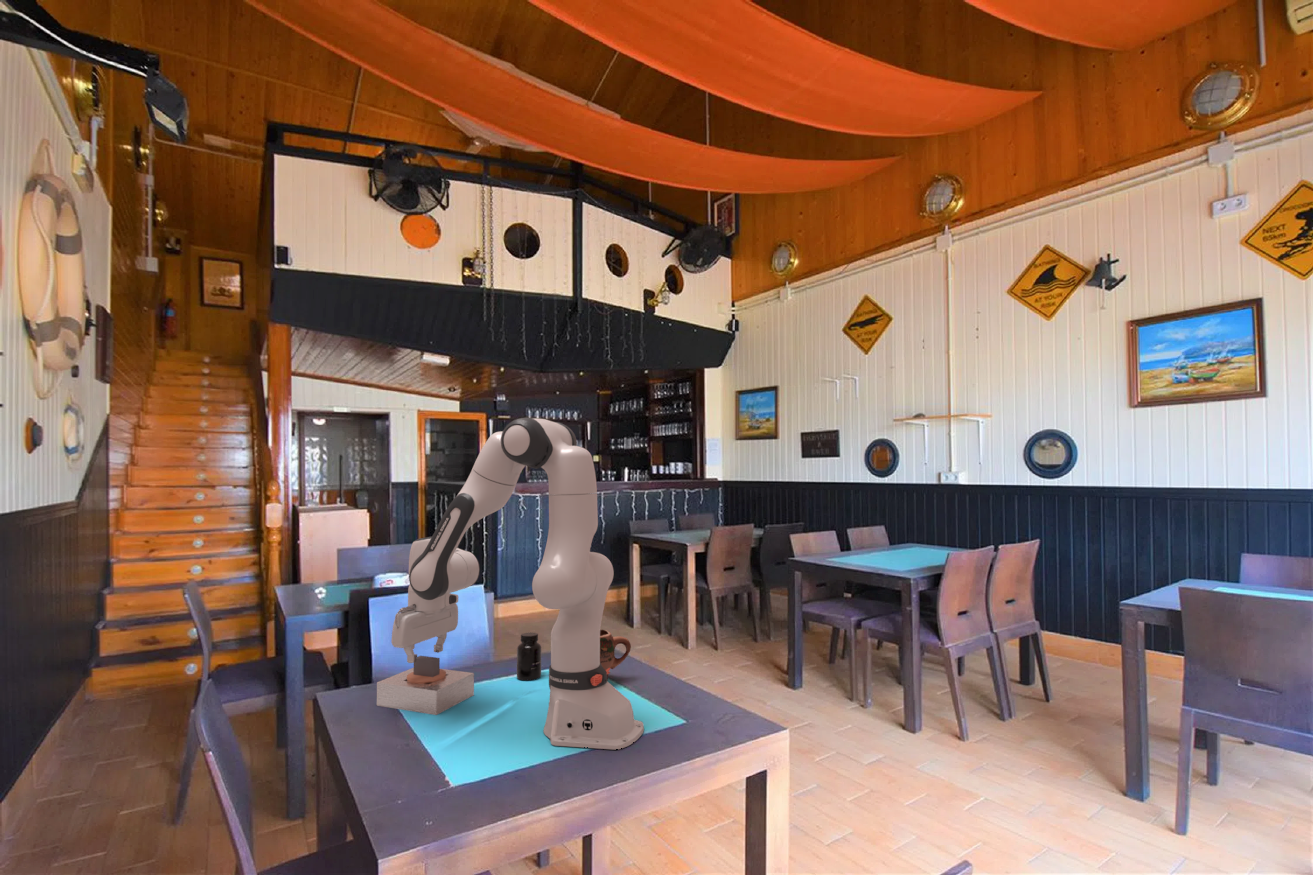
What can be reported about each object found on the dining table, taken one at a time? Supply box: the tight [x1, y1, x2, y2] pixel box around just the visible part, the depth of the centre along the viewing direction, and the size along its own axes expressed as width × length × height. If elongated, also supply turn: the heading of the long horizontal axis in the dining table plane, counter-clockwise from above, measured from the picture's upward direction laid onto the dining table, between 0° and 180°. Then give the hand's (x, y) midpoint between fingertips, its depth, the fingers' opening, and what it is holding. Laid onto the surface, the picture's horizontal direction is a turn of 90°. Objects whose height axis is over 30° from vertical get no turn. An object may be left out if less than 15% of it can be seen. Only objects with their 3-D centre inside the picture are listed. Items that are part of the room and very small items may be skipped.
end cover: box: [407, 655, 446, 684], centre depth 160 cm, size 9×9×10 cm
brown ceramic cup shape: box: [600, 628, 632, 682], centre depth 176 cm, size 20×12×14 cm, turn 113°
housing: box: [376, 667, 475, 716], centre depth 159 cm, size 18×14×7 cm
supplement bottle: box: [516, 632, 542, 681], centre depth 181 cm, size 7×7×12 cm
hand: (425, 656), depth 160 cm, fingers open, 8 cm apart
